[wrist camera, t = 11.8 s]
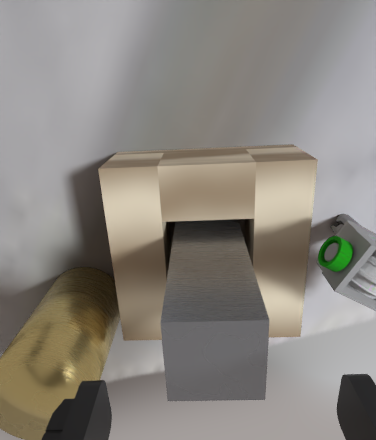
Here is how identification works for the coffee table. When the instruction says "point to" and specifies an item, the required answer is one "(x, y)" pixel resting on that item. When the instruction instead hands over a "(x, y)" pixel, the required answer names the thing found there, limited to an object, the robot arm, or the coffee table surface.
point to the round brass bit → (57, 350)
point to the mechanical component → (350, 261)
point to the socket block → (209, 210)
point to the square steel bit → (213, 316)
